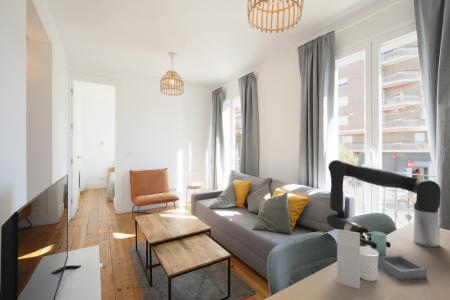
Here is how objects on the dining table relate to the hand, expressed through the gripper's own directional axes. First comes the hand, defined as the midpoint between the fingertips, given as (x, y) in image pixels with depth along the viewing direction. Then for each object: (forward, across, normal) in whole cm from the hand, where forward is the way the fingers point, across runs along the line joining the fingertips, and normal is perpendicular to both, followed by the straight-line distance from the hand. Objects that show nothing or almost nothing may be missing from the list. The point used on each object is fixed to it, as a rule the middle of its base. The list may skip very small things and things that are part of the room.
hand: (382, 245), depth 97 cm
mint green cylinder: (-2, 0, +6) cm, 7 cm away
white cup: (+10, -16, +7) cm, 20 cm away
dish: (+9, 0, +6) cm, 11 cm away
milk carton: (+12, -25, +7) cm, 28 cm away
